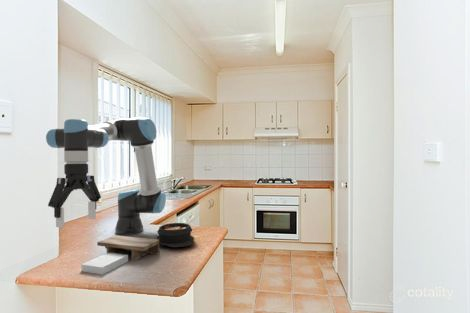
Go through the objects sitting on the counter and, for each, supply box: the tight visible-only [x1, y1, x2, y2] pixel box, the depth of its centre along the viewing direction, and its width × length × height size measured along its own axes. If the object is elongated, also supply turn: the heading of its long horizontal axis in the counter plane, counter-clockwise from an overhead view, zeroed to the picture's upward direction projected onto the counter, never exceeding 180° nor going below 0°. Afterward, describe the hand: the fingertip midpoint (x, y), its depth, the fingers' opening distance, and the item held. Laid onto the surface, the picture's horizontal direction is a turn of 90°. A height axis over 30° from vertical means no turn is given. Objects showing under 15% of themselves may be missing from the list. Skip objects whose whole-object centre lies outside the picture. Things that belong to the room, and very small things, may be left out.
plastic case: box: [81, 252, 129, 275], centre depth 117 cm, size 14×10×3 cm
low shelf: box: [97, 234, 160, 261], centre depth 129 cm, size 11×24×6 cm, turn 71°
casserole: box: [156, 222, 195, 248], centre depth 145 cm, size 25×19×8 cm
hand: (77, 222), depth 105 cm, fingers open, 13 cm apart
